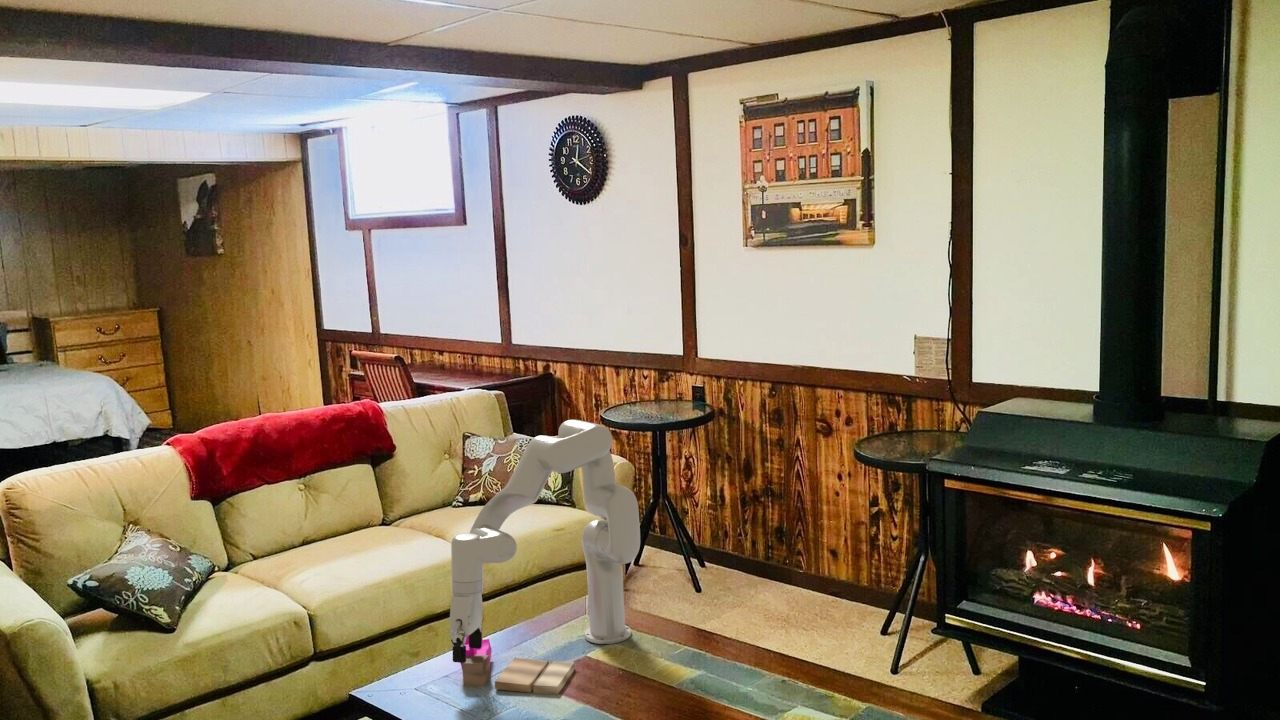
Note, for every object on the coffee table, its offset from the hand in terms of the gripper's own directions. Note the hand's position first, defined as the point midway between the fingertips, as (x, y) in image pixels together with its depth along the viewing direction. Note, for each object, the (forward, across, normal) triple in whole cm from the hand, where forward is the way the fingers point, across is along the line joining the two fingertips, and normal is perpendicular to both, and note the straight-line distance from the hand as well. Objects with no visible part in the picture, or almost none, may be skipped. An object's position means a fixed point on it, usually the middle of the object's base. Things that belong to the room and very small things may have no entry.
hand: (467, 654), depth 249 cm
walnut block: (+8, -2, +2) cm, 8 cm away
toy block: (+6, -13, -2) cm, 14 cm away
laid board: (+7, -6, +20) cm, 22 cm away
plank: (+5, -5, +17) cm, 18 cm away
